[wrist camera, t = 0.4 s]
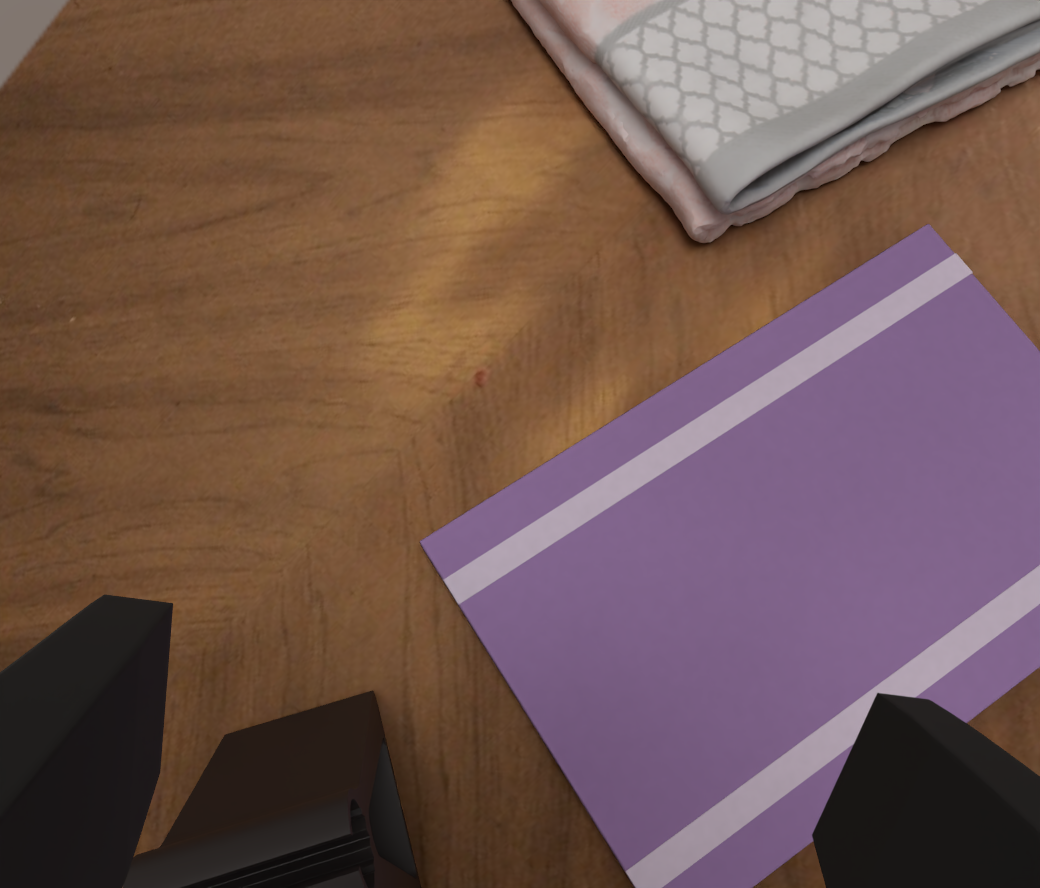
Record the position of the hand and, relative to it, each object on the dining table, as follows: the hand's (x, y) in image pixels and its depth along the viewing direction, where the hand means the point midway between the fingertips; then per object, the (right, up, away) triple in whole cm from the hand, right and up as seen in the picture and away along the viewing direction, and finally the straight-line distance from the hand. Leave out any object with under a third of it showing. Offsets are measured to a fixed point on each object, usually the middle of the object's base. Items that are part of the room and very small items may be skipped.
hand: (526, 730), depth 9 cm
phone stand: (-8, -12, +25) cm, 29 cm away
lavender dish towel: (+12, -1, +29) cm, 32 cm away
